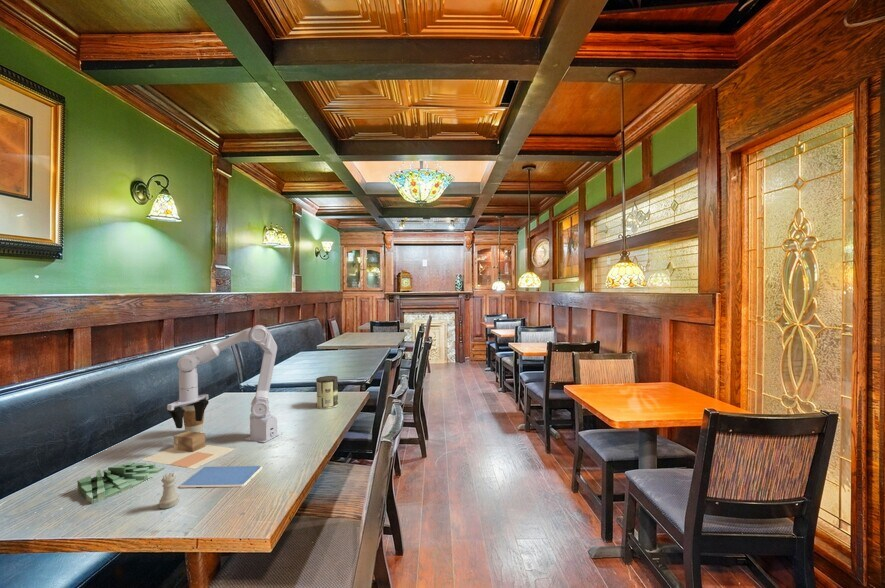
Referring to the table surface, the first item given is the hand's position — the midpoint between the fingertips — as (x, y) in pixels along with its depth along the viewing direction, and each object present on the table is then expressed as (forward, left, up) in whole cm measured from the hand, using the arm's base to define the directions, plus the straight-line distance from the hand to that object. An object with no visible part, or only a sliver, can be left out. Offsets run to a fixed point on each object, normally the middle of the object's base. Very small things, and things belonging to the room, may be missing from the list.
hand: (189, 424), depth 138 cm
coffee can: (-18, -59, -10) cm, 62 cm away
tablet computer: (-30, +13, -10) cm, 34 cm away
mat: (-5, +4, -9) cm, 11 cm away
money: (-3, +26, -10) cm, 28 cm away
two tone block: (0, 0, -9) cm, 9 cm away
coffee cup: (+14, -13, -9) cm, 21 cm away
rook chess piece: (-29, +29, -10) cm, 42 cm away
